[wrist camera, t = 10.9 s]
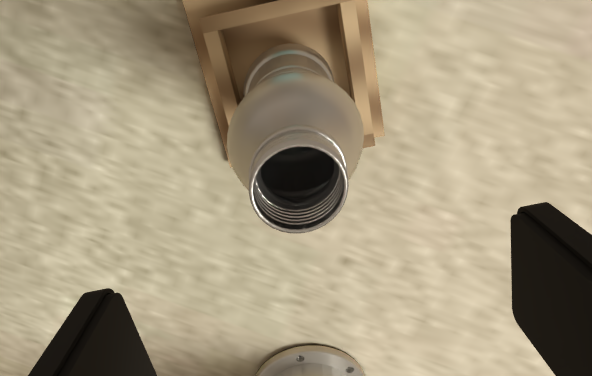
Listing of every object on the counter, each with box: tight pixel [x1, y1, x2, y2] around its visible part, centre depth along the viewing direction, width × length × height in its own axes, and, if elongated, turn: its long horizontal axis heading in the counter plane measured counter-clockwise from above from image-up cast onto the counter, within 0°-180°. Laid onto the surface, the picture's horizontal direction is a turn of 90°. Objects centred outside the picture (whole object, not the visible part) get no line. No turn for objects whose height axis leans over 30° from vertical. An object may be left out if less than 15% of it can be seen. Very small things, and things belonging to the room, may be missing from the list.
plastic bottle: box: [227, 43, 364, 233], centre depth 25 cm, size 6×7×20 cm
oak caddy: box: [182, 0, 385, 168], centre depth 32 cm, size 19×13×4 cm
